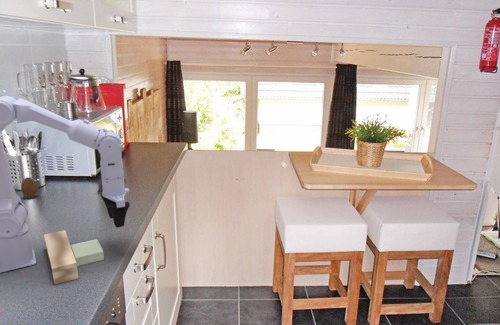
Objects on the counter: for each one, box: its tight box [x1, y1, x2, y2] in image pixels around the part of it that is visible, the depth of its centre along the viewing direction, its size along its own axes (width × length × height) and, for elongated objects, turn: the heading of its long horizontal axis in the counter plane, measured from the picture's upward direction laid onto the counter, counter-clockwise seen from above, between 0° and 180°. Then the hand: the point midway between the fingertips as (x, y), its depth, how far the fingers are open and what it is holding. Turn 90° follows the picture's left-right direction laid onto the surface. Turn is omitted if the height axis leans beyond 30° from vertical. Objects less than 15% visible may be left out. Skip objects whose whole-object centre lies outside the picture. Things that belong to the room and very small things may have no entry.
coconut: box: [20, 177, 39, 199], centre depth 147 cm, size 5×5×8 cm
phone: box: [97, 178, 127, 195], centre depth 160 cm, size 8×1×15 cm
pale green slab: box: [70, 238, 105, 267], centre depth 109 cm, size 7×8×2 cm
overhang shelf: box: [43, 230, 79, 286], centre depth 106 cm, size 6×20×4 cm, turn 31°
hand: (116, 221), depth 111 cm, fingers open, 6 cm apart
